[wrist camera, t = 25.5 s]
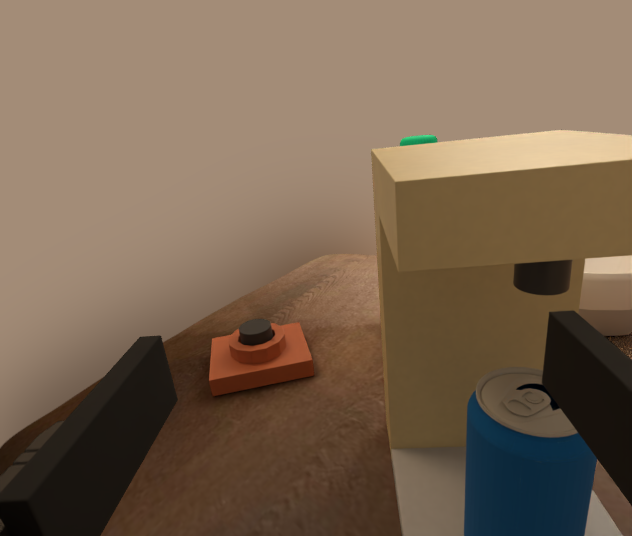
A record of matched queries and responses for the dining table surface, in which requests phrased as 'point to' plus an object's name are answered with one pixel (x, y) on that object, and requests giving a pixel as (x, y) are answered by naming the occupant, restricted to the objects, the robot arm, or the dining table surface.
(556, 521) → the beverage can
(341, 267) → the dining table surface
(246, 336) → the button
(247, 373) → the brew pad
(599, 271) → the bowl
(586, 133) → the coffee maker
